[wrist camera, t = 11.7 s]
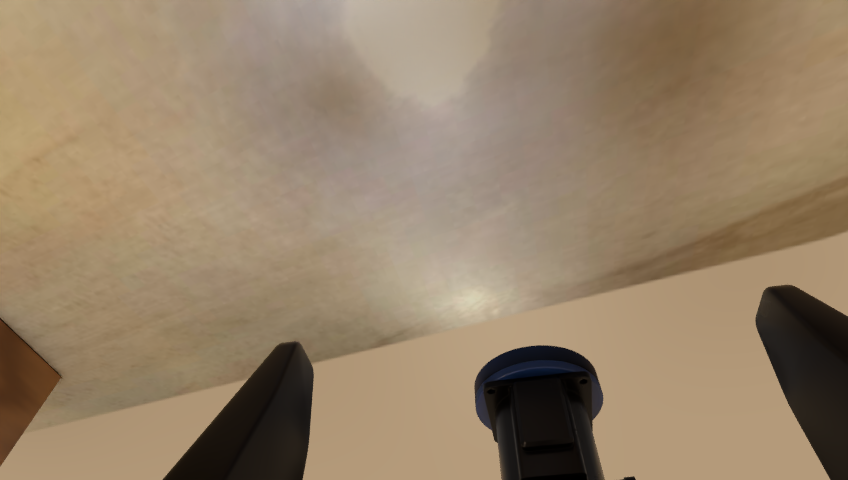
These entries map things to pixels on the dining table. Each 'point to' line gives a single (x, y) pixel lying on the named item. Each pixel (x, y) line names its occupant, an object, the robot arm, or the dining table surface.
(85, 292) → the dining table surface
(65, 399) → the dining table surface
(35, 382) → the stand
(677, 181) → the dining table surface
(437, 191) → the dining table surface
